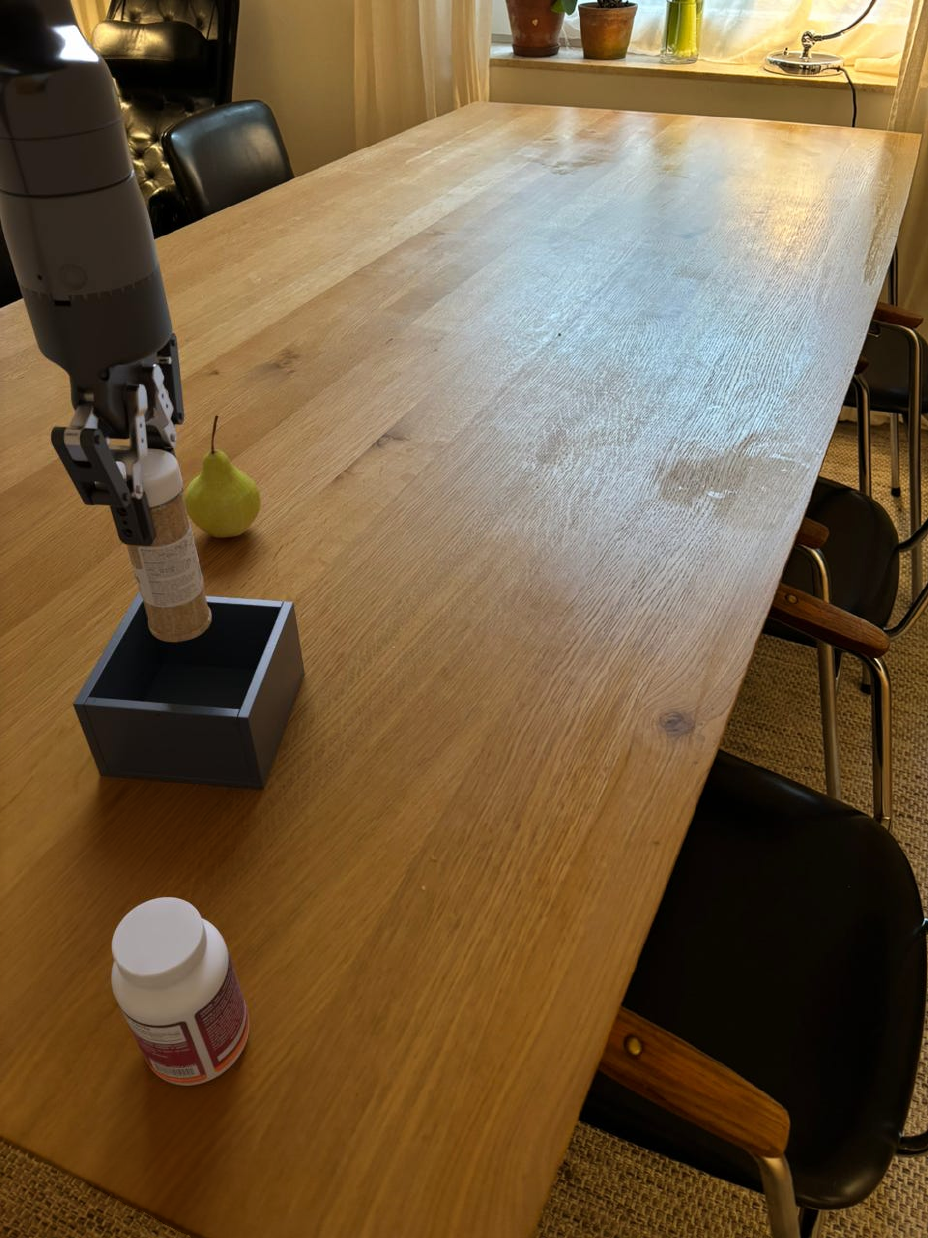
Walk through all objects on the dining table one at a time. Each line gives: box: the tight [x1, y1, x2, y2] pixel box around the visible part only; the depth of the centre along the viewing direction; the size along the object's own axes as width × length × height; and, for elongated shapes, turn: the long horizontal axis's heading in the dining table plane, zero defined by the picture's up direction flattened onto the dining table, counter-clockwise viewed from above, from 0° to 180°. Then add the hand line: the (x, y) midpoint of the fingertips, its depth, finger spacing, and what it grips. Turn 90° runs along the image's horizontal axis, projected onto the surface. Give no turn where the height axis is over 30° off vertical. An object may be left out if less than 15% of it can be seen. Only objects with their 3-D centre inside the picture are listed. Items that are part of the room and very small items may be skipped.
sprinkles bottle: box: [116, 449, 212, 642], centre depth 67 cm, size 5×5×14 cm
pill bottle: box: [110, 896, 250, 1086], centre depth 55 cm, size 6×6×11 cm
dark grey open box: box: [72, 591, 305, 790], centre depth 76 cm, size 13×13×8 cm
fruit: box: [183, 415, 261, 538], centre depth 94 cm, size 7×7×12 cm
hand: (153, 518), depth 65 cm, fingers closed on sprinkles bottle, 4 cm apart
